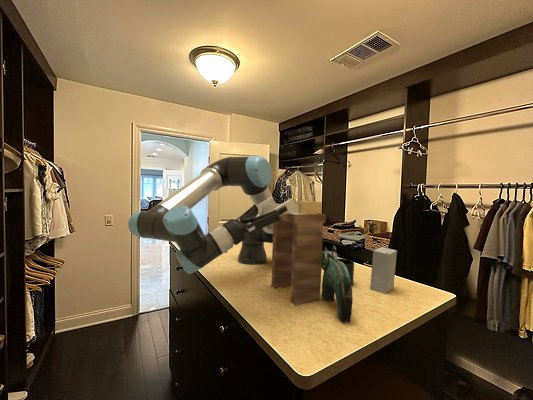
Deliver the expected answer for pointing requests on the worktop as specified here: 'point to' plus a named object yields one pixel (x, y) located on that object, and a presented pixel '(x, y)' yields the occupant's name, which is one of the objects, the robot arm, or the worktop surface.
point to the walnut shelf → (298, 256)
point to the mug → (349, 267)
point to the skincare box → (383, 269)
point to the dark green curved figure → (337, 284)
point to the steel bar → (299, 208)
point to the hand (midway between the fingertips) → (282, 201)
